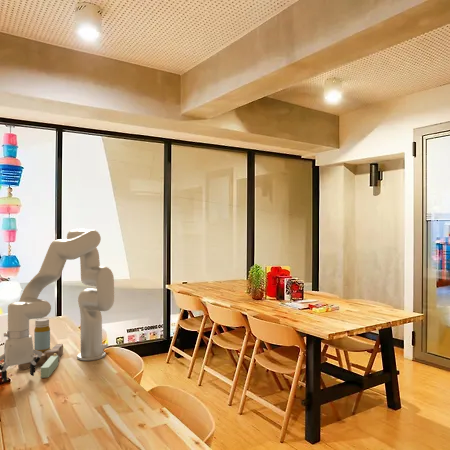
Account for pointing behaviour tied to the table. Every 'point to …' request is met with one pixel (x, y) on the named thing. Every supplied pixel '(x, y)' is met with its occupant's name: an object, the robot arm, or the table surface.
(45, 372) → the hinged leg
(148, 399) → the table surface
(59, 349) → the brown angled wooden piece
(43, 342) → the bottle
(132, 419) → the table surface
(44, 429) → the table surface
